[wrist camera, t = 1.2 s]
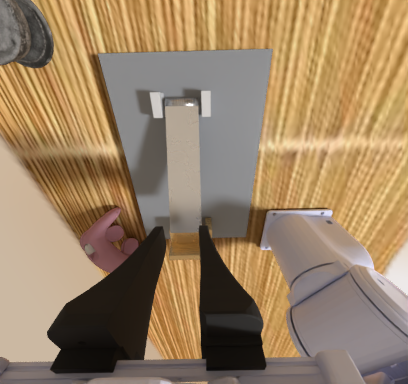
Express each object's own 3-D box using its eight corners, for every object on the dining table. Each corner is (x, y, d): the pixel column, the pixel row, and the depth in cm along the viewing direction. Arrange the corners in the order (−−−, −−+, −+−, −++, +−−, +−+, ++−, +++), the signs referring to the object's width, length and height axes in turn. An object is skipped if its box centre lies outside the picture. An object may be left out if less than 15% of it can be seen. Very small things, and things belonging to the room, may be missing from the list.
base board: (266, 53, 15) (281, 42, 12) (243, 230, 26) (248, 246, 23) (106, 57, 15) (84, 47, 12) (150, 232, 26) (143, 248, 23)
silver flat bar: (198, 101, 16) (197, 95, 15) (201, 229, 17) (201, 232, 16) (166, 102, 16) (164, 96, 15) (172, 230, 17) (170, 233, 16)
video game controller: (106, 207, 26) (64, 246, 21) (118, 203, 23) (73, 247, 18) (149, 244, 30) (122, 284, 25) (164, 244, 27) (137, 288, 22)
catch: (211, 217, 23) (212, 242, 19) (211, 233, 24) (212, 259, 20) (172, 218, 23) (166, 243, 19) (174, 234, 24) (169, 260, 20)
